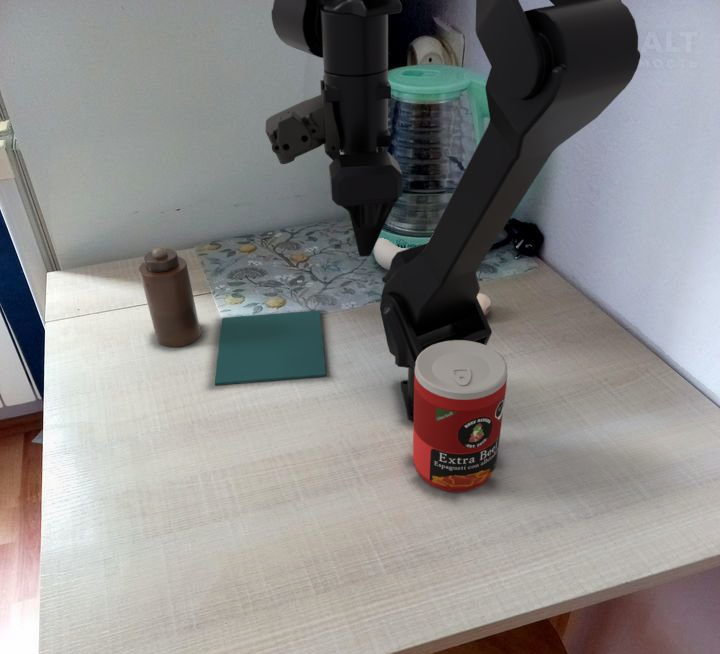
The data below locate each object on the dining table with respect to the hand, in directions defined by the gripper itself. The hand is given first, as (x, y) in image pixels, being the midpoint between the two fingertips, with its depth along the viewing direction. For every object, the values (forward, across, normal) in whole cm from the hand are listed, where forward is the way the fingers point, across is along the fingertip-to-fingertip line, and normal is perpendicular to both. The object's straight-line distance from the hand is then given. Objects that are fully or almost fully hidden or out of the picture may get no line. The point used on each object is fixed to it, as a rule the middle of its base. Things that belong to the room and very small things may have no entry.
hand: (360, 235), depth 73 cm
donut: (+13, -20, +8) cm, 25 cm away
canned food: (+13, +22, +6) cm, 26 cm away
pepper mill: (+13, -5, -22) cm, 26 cm away
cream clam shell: (+13, -5, +13) cm, 19 cm away
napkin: (+13, -1, -11) cm, 17 cm away
